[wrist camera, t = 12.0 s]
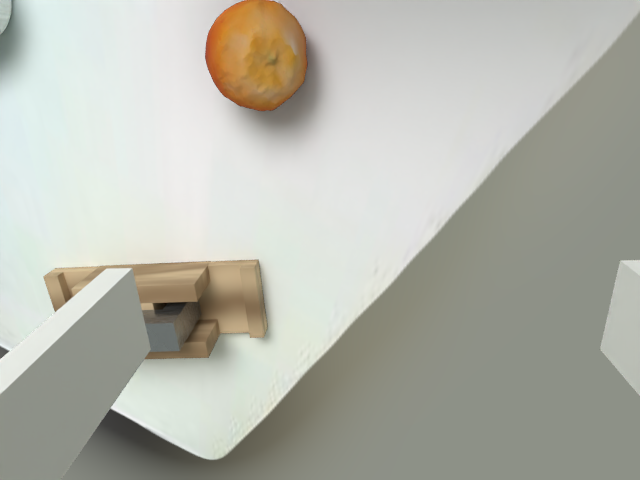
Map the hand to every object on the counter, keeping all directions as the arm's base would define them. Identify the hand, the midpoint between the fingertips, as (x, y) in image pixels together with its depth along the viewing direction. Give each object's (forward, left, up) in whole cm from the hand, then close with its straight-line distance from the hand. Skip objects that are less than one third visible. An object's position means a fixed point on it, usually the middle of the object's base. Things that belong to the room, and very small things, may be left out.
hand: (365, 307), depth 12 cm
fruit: (-7, -7, -31) cm, 32 cm away
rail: (+16, -21, -30) cm, 40 cm away
